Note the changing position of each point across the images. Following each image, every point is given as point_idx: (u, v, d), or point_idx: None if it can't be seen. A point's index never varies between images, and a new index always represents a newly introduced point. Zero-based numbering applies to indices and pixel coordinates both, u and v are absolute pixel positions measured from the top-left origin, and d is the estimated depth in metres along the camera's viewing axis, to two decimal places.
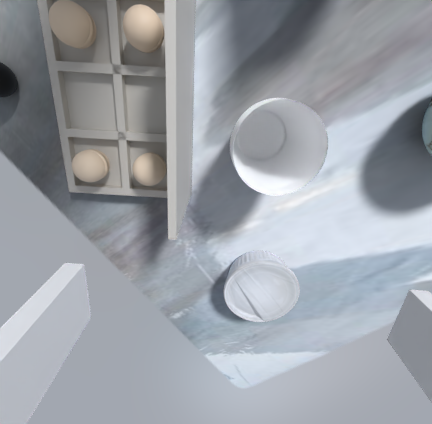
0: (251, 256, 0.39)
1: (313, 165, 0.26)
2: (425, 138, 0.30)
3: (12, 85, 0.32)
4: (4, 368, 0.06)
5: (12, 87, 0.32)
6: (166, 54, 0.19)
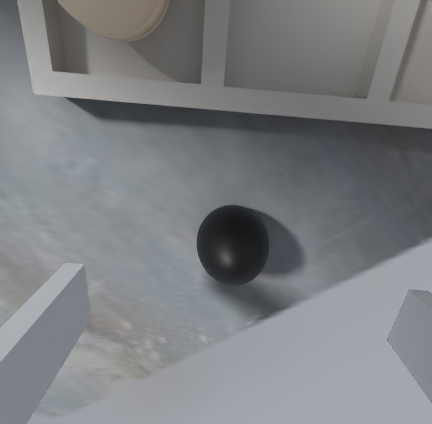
0: None
1: None
2: None
3: (246, 209, 0.14)
4: (4, 368, 0.06)
5: (250, 212, 0.15)
6: None
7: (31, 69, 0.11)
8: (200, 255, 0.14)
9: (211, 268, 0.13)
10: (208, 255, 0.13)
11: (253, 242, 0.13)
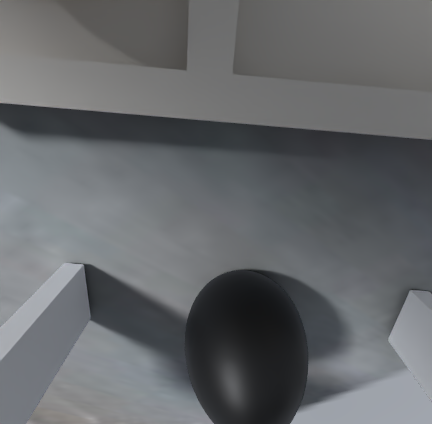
0: None
1: None
2: None
3: (268, 286, 0.09)
4: (3, 369, 0.06)
5: (275, 289, 0.09)
6: None
7: None
8: (189, 373, 0.08)
9: (208, 412, 0.07)
10: (203, 387, 0.07)
11: (287, 369, 0.07)
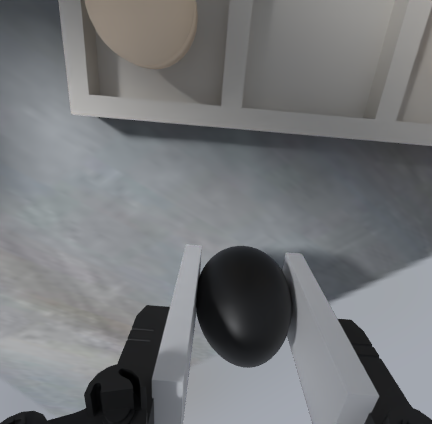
0: None
1: None
2: None
3: (261, 255, 0.11)
4: (192, 316, 0.08)
5: (267, 258, 0.11)
6: None
7: (70, 93, 0.13)
8: (199, 320, 0.10)
9: (214, 344, 0.09)
10: (210, 325, 0.09)
11: (273, 310, 0.09)
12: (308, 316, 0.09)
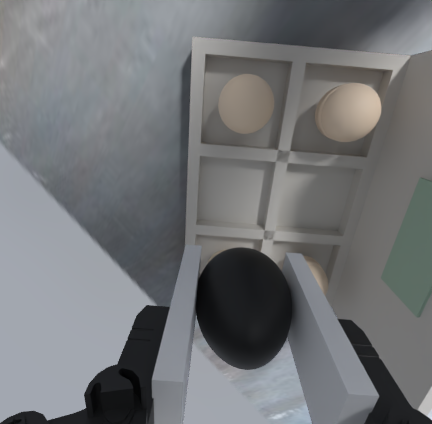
0: None
1: None
2: None
3: (262, 257, 0.11)
4: (192, 316, 0.08)
5: (267, 260, 0.11)
6: None
7: (205, 39, 0.19)
8: (199, 321, 0.10)
9: (214, 346, 0.09)
10: (210, 327, 0.09)
11: (273, 312, 0.09)
12: (308, 316, 0.09)
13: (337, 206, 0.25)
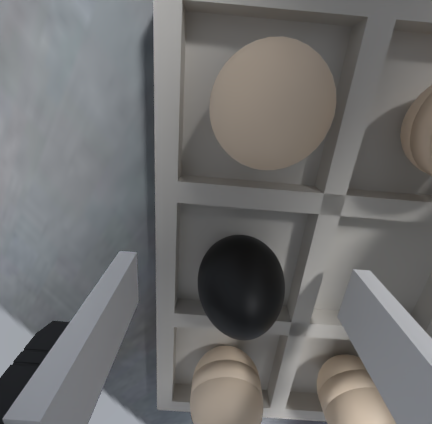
0: None
1: None
2: None
3: (258, 243, 0.12)
4: (94, 335, 0.08)
5: (263, 245, 0.12)
6: None
7: None
8: (201, 299, 0.11)
9: (214, 319, 0.10)
10: (211, 303, 0.10)
11: (267, 290, 0.10)
12: (405, 347, 0.08)
13: (414, 280, 0.15)
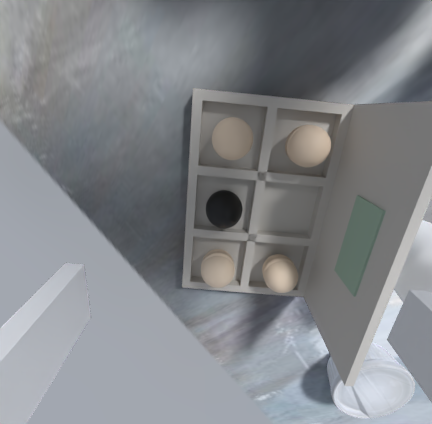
0: None
1: None
2: None
3: (231, 192, 0.28)
4: (4, 368, 0.06)
5: (233, 193, 0.29)
6: (409, 227, 0.17)
7: (203, 90, 0.25)
8: (207, 213, 0.28)
9: (213, 218, 0.27)
10: (211, 211, 0.27)
11: (233, 206, 0.27)
12: None
13: (306, 215, 0.31)
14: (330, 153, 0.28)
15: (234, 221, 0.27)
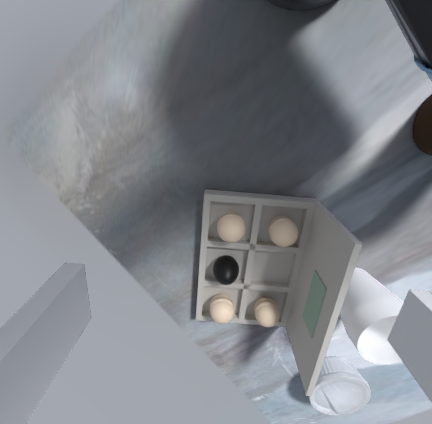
0: (331, 365, 0.49)
1: None
2: None
3: (231, 258, 0.40)
4: (4, 368, 0.06)
5: (232, 258, 0.40)
6: (336, 305, 0.29)
7: (210, 195, 0.37)
8: (214, 274, 0.39)
9: (218, 279, 0.39)
10: (217, 274, 0.39)
11: (232, 271, 0.38)
12: None
13: (285, 270, 0.43)
14: (300, 231, 0.39)
15: (233, 281, 0.39)
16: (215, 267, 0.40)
